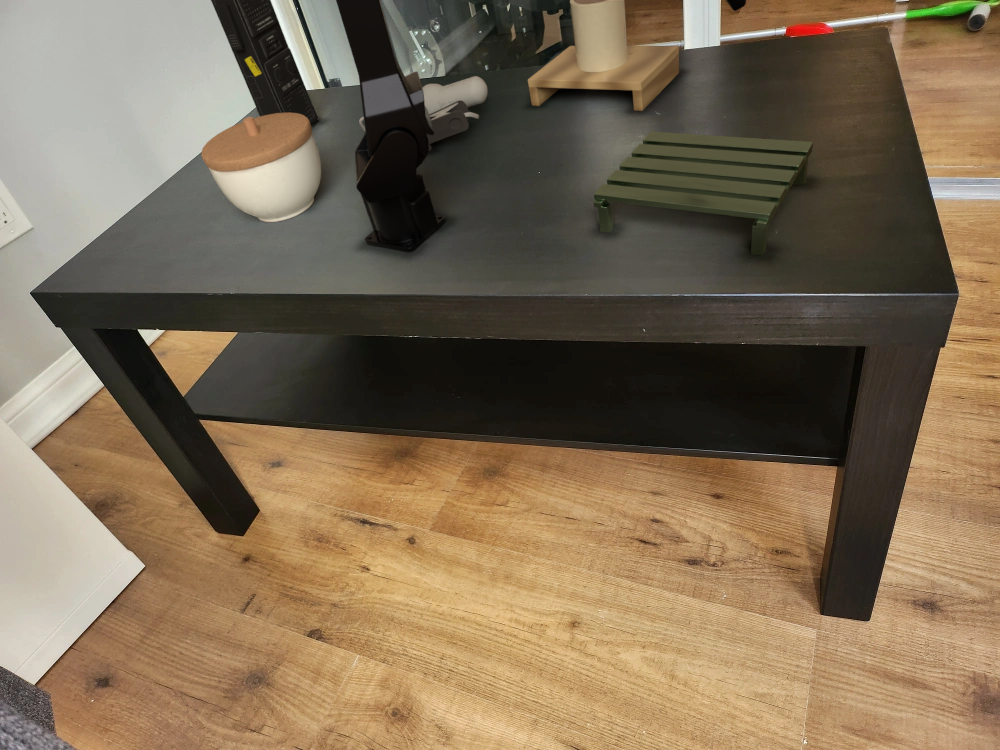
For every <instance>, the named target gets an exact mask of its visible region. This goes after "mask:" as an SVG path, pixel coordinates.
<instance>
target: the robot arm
mask: <svg viewBox="0 0 1000 750" xmlns="http://www.w3.org/2000/svg"><path fill="white" fill-rule="evenodd" d="M335 2H336V5H337V9H338V12H339V15H340V18H341V21H342V25H343V28H344V31H345V35H346V38H347V43H348V44H349V49H350V51H351V55H352V58H353V62H354V64H355V68H356V71H357V75H358V80H359V81H358V82H359V90H360V98H361V107H362V115H363V117H364V120H363V121H364V123H363V124H364V127H365V131H366V132H365V131H364V132H365V133H364V134H363V136H362V138H361V140H360V142H359V143H358V145H357V147H356V149H355V150H354V162H355V163H354V166H355V181H356V182H355V185H356V186H355V187H356V189H357V191H358V192H359V193H360V196H361V198H362V201H363V205H364V207H365V211H366V213H367V217H368V219H369V222H370V224H371V228H372V230H373V231H371V233H370V234H368V235H367V236H366V237H365V238H364V241H365V243H366V244H367V245H371V246H377V247H382V248H386V249H393V250H398V251H403V252H406V253H407V252H408V253H409V252H412V251H414V250H416V249H417V248H418V247H419V246H420V245H421V244H422V243H423V242H424V241H425V240H427V239H428V238H429V237H430V236H431V235H432V234H433V233H434V232H435V231H437V229H439V228H440V227H441V226H442V225H443V224H444V223H445V222H446V217H445V215H441V214H436V211H435V208H434V205H433V201H432V198H431V193H430V191H429V190H428V189H427V187H426V183H425V181H424V177H423V173H417V168H418V167H420V166H421V165H422V164H423V162H424V161H425V159H426V157H427V156H428V155H429V152H430V151H429V144H428V137H427V134H429V135H434V131H433V127H432V124H431V120H430V117H429V113H428V109H427V108H426V106H425V103H424V92H423V89H422V88H423V85H422V81H421V79H420V75H419V72H418V71H413V72H412V73H409V74H407V75H405V74H404V72H403V70H402V67H401V66H400V64H399V62H398V60H397V57H396V55H395V52H394V48H393V44H392V40H391V36H390V33H389V29H388V25H387V22H386V18H385V14H384V10H383V7H382V2H381V0H335ZM725 2H726V3H727V4H728V6H729V8H731V10H732V11H734V12H736V11H737V12H738V11H739V10H740V9H742V8H744V7H745V6H746V5H747V0H725Z"/></svg>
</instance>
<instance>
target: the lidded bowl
mask: <svg viewBox="0 0 1000 750" xmlns="http://www.w3.org/2000/svg"><path fill="white" fill-rule="evenodd" d="M312 127H313V126H312ZM312 127H311V124H310V122H309V120H308V118H307V117H305V116H304V115H302V114H298V113H275V114H269V115H264V116H257V117H254V116H247V117H245V118H243V119H242V121H241V122H238V123H237V124H235V125H232V126H230V127H228V128H226V129H224V130H222V131H220V132H219V133H217V134H216V135H215V136H213V137H212V138H211V139H210V140H208V141H207V142H206V143H205V144H204V146H203V147H202V149H201V153H200V155H201V158H202V161H203V162H204V164H205V165H206V167H207V168H208V170H209V171H210V173H211V176H212V177H213V179H214V181H215V183H216V185H217V186H218V187H219V189H220V191H221V192H222V193H223V195H224V196H225V197H226V198H227V200H228V201H229V202H230V203H231V204H232V205H233V206H234V207H236V208H237V209H238V210H240V211H242V212H243V213H246V214H248V215H249V216H253V217H255V218H257V219H258V220H259V221H260V222H261V221H262V222H264V223H277V222H282V221H286V220H289V219H292V218H295V217H297V216H299V215H301V214H302V213H304V212H306V211H307V210H308V209H309V208H310V207H311V206H313V203H314V202H315V195H316V194H317V192H318V189H319V187H320V184H321V180H322V162H321V155H320V152H319V148H318V144H317V142H316V139H315V136H314V133H313V128H312Z"/></svg>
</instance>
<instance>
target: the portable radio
mask: <svg viewBox="0 0 1000 750" xmlns="http://www.w3.org/2000/svg"><path fill="white" fill-rule="evenodd" d="M210 2H211V4H212V6H213V8H214V12H215V13H216V15H217V18H218V20H219V23H220V25H221V27H222V31H223V32H224V34H225V37H226V39H227V42H228V44H229V46H230V49H231V52H232V54H233V56H234V58H235V61H236V64H237V66H238V68H239V71H240V72H241V75H242V77H243V80H244V83H245V84H246V87H247V89H248V91H249V93H250V96H251V98H252V101H253V103H254V106H255V108H256V111H257V113H258V115H259V116H258V117H260V116H264V115H269V114H275V113H298V114H302V115H304V116H305V117H307V118H308V120H309V122H310V124H311V127H314V126H315V125H316V124H317V123H318V122H319V119H320V118H319V116H318V113H317V110H316V108H315V106H314V104H313V102H312V100H311V97H310V95H309V92H308V90H307V87H306V85H305V83H304V80H303V78H302V75H301V72H300V70H299V67H298V65H297V63H296V60H295V57H294V55H293V52H292V50H291V48H290V47H289V45H288V42H287V40H286V37H285V35H284V32H283V29H282V27H281V24H280V21H279V19H278V16H277V13H276V11H275V7H274V6H273V5H274V4H273V3H272V0H210Z"/></svg>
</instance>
